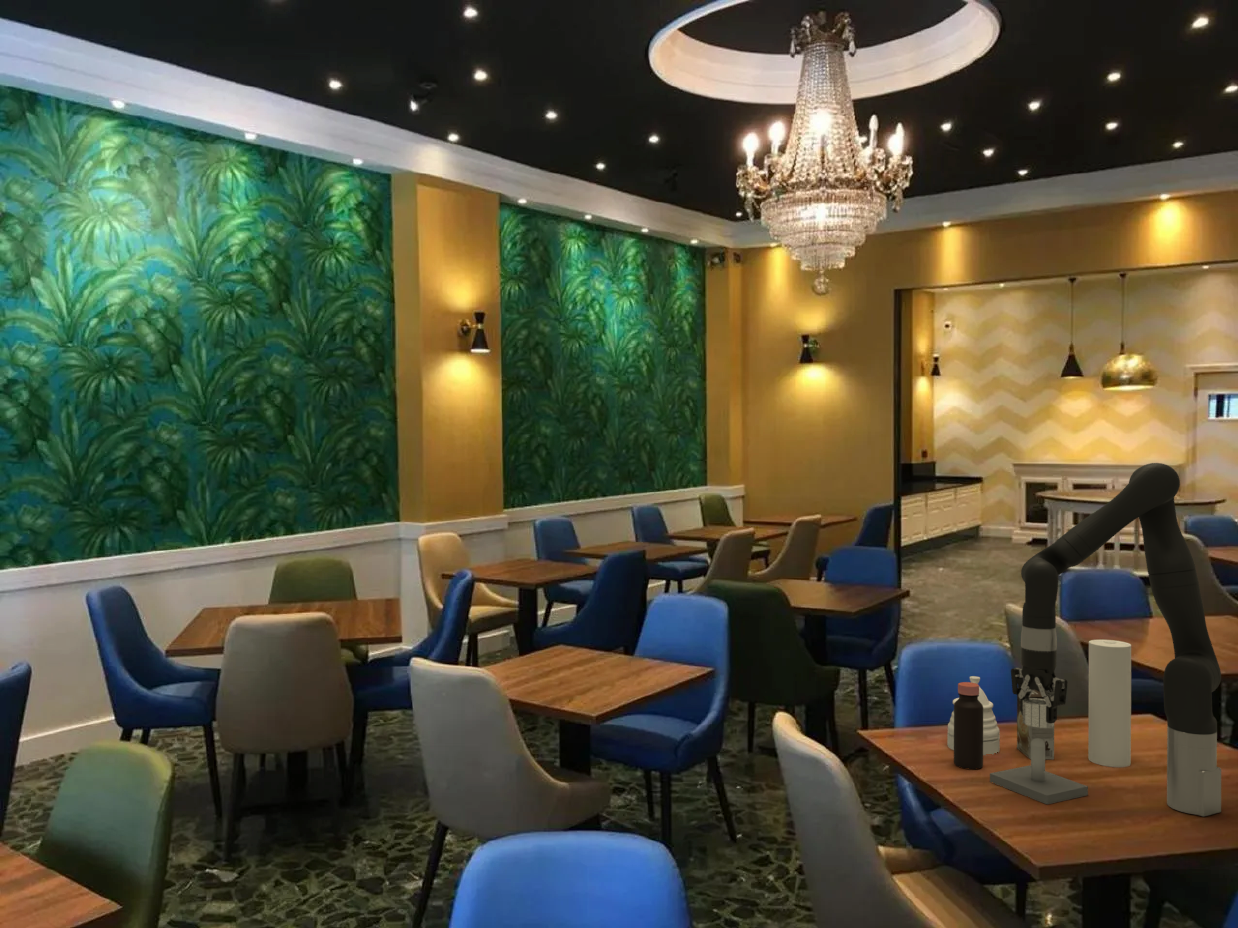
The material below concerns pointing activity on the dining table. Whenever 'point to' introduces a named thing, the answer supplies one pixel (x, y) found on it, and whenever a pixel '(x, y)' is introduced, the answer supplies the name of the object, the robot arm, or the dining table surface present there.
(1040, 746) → the piston block
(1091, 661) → the cylinder container
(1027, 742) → the coffee box
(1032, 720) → the ring
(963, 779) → the dining table surface
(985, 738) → the honey pot
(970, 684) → the bottle
